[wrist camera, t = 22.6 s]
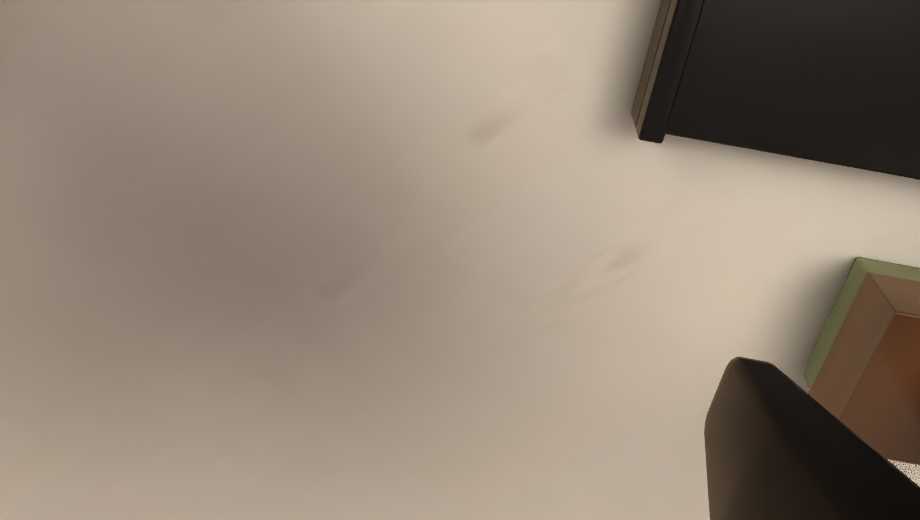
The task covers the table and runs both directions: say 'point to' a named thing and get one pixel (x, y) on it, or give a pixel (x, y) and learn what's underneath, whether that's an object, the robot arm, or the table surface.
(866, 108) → the griddle
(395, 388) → the table surface
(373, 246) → the table surface
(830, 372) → the scrub brush
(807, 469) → the robot arm
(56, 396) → the table surface
